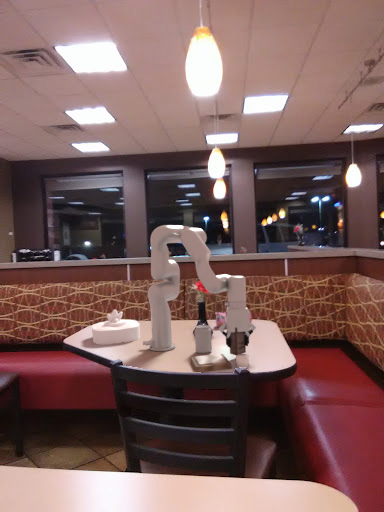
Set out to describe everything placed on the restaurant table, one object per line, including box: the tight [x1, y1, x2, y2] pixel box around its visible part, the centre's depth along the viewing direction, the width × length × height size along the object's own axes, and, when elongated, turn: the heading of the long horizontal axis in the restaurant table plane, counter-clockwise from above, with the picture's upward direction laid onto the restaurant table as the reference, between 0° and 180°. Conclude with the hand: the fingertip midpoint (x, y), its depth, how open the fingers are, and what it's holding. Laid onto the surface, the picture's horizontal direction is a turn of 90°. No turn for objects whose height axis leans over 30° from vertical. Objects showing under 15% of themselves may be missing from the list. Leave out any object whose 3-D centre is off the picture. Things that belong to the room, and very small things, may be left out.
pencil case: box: [214, 310, 253, 328], centre depth 235 cm, size 21×9×9 cm, turn 98°
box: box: [229, 327, 247, 356], centre depth 171 cm, size 6×4×12 cm
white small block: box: [235, 353, 250, 369], centre depth 159 cm, size 5×5×4 cm
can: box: [194, 324, 213, 355], centre depth 183 cm, size 8×8×12 cm
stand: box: [190, 353, 232, 373], centre depth 163 cm, size 14×14×2 cm
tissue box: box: [91, 308, 141, 345], centre depth 219 cm, size 25×25×16 cm
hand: (237, 345), depth 171 cm, fingers closed on box, 7 cm apart
